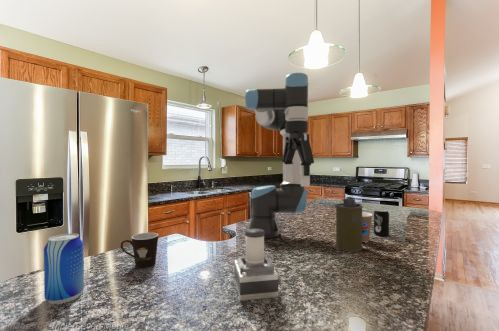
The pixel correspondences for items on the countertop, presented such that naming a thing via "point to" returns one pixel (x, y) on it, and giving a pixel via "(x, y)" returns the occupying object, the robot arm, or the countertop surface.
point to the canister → (349, 225)
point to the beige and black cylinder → (254, 247)
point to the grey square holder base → (255, 280)
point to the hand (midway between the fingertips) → (296, 184)
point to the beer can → (63, 268)
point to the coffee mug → (143, 249)
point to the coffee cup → (366, 226)
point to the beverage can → (381, 222)
